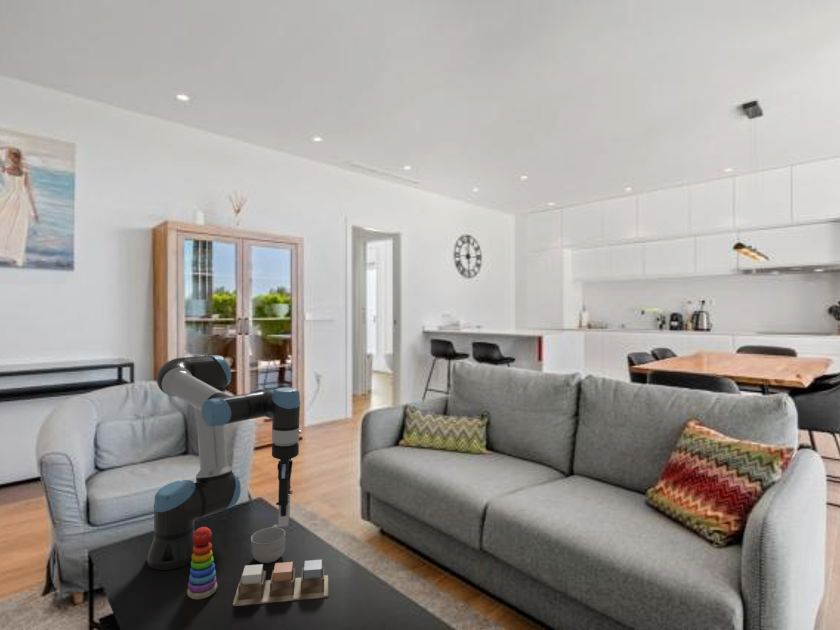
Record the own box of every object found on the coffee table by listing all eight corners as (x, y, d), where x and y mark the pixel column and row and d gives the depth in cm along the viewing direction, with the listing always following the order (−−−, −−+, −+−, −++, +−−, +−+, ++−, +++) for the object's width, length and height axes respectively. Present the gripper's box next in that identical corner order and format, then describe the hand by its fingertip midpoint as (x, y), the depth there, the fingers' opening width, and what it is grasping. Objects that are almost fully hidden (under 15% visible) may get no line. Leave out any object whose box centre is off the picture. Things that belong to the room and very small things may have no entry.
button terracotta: (273, 586, 135) (273, 573, 135) (275, 576, 140) (275, 563, 140) (291, 585, 136) (291, 571, 136) (292, 574, 141) (292, 561, 141)
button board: (232, 606, 131) (232, 590, 131) (239, 584, 141) (239, 569, 140) (328, 597, 136) (328, 581, 136) (328, 576, 146) (328, 562, 146)
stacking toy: (223, 586, 140) (224, 523, 139) (205, 603, 132) (206, 537, 131) (199, 582, 141) (200, 520, 141) (180, 598, 133) (181, 533, 133)
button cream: (241, 589, 134) (242, 575, 133) (244, 578, 138) (245, 565, 138) (260, 587, 134) (260, 574, 134) (262, 577, 139) (262, 564, 139)
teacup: (274, 569, 149) (275, 544, 148) (243, 564, 151) (244, 540, 150) (295, 547, 162) (295, 524, 162) (266, 542, 164) (266, 520, 164)
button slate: (303, 583, 137) (304, 570, 137) (304, 573, 142) (304, 560, 142) (321, 582, 138) (321, 568, 138) (321, 572, 143) (321, 559, 143)
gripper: (297, 451, 129) (295, 535, 130) (300, 433, 146) (299, 507, 147) (268, 452, 127) (267, 537, 128) (275, 433, 144) (273, 508, 145)
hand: (284, 521), depth 137 cm, fingers open, 4 cm apart
